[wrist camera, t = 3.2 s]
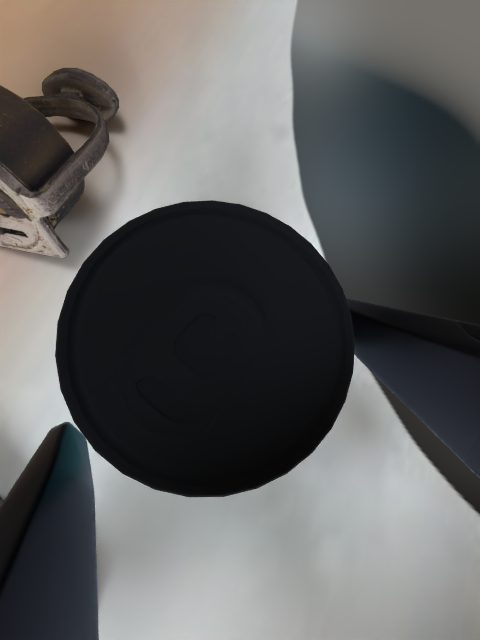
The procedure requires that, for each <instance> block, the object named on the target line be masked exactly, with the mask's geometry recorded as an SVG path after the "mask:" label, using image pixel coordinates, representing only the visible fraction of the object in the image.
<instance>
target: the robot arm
mask: <svg viewBox="0 0 480 640" xmlns="http://www.w3.org/2000/svg"><path fill="white" fill-rule="evenodd" d="M346 301H347V304H348V307H349V310H350V313H351V318H352V325H353V333H354V341H355V349H354V354H355V355H356V356H357V358H358V359H359V360H360V361H361V362H362V363H363V364H364V365H365V366H366V367H367V368H368V369H369V370H370V371H371V372H372V373H374V374H375V375H376V376H377V377H378V378H379V379H380V380H381V381H382V382H383V383H384V384H385V385H386V386H387V387H388V388H389V389H390V390H391V391H392V392H393V393H394V394H395V395H396V396H397V397H398V398H399V399H400V400H401V401H402V402H403V403H404V404H405V405H406V406H407V407H408V408H409V409H410V410H411V411H412V412H413V413H414V414H415V415H416V416H417V417H418V418H419V419H420V420H421V421H422V422H423V423H424V424H425V425H426V426H427V427H428V428H429V429H430V430H431V431H432V432H433V433H434V434H435V435H436V436H437V437H438V438H439V439H440V440H441V441H443V443H444V444H445V445H446V446H448V447H449V449H450V450H451V451H452V452H454V454H455V455H457V456H458V457H459V458H460V459H461V460H463V463H464V464H465V465H466V466H467V467H468V468H470V469H471V471H472V472H473V473H475V475H477V476H478V477H479V478H480V325H479V324H473V323H468V322H463V321H456V320H452V319H447V318H443V317H437V316H432V315H426V314H422V313H416V312H412V311H407V310H401V309H396V308H391V307H385V306H381V305H375V304H370V303H365V302H360V301H355V300H350V299H346ZM0 640H99V634H98V599H97V563H96V528H95V497H94V486H93V479H92V473H91V466H90V459H89V453H88V446H87V441H86V438H85V437H84V435H83V434H82V433H81V432H80V431H78V430H77V429H76V428H75V427H74V426H73V425H72V424H71V423H69V422H64V423H62V424H60V425H58V426H55V427H53V428H52V429H51V430H50V431H49V432H48V434H47V435H46V437H45V439H44V440H43V442H42V443H41V445H40V446H39V448H38V449H37V451H36V452H35V454H34V455H33V457H32V458H31V460H30V461H29V463H28V464H27V466H26V467H25V469H24V471H23V472H22V474H21V475H20V477H19V478H18V480H17V481H16V483H15V484H14V486H13V487H12V489H11V490H10V492H9V493H8V495H7V496H6V498H5V500H4V501H3V503H2V504H1V506H0Z"/></svg>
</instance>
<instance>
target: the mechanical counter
mask: <svg viewBox="0 0 480 640" xmlns="http://www.w3.org/2000/svg"><path fill="white" fill-rule="evenodd" d="M42 92H43V94H44V96H38V97H27V98H24V99H23V98H21V97H19V96H18V95H16V94H14V93H13V92H11V91H9V90H8V89H6V88H4V87H3V86H1V85H0V246H4V247H8V248H13V249H17V250H22V251H27V252H32V253H38V254H43V255H49V256H55V257H60V258H64V257H65V256H67V255H69V249H68V248H67V247H66V246H65V245H64V244H63V242H62V241H61V239H60V238H59V237H58V235H57V234H56V232H55V231H54V228H55V227H56V225H57V224H58V223H59V221H60V220H61V219H62V218H63V217H64V216H65V215H66V213H67V212H68V211H69V210H70V209H71V208H72V207H73V205H74V204H75V203H76V202H77V201H78V199H79V198H80V196H81V195H82V193H83V190H84V177H85V176H86V175H87V174H88V173H89V172H90V171H91V170H92V169H93V168H94V167H95V165H96V164H97V163H98V162H99V161H100V159H101V158H102V156H103V154H104V152H105V150H106V148H107V145H108V143H109V134H108V129H107V124H106V122H105V120H108V119H111V118H113V117H114V116H115V114H116V112H117V110H118V108H119V99H118V97H117V95H116V93H115V91H114V90H113V89H112V88H111V87H110V86H109V85H108V84H107V83H106V82H104V81H103V80H101V79H99V78H98V77H96V76H95V75H93V74H92V73H89V72H87V71H84V70H81V69H78V68H62V69H59V70H56V71H54V72H53V73H52V74H50V75H49V76H48V77H47V78H45V79H44V81H43V82H42ZM51 116H67V117H71V118H75V119H83V120H87V121H92V122H94V123H95V124H96V127H95V130H94V132H93V134H92V135H91V136H90V138H89V139H88V140H87V141H86V142H85V143H84V145H83V146H82V147H81V148H80V149H79V150H77V151H76V152H75V153H74V151H73V150H72V148H71V147H70V145H69V144H68V143H67V141H66V140H65V139H64V138H63V137H62V135H61V134H60V133H59V132H58V131H57V129H56V128H55V127H54V126H53V125H52V124H51V123H50V122H49V121H48V120H47V119H46V118H45V117H51Z"/></svg>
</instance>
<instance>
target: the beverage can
mask: <svg viewBox="0 0 480 640" xmlns="http://www.w3.org/2000/svg"><path fill="white" fill-rule="evenodd" d="M354 349H355V341H354V333H353V325H352V318H351V313H350V310H349V307H348V304H347V301H346V298H345V295H344V292H343V289H342V288H341V286H340V284H339V282H338V280H337V278H336V277H335V275H334V273H333V271H332V270H331V268H330V266H329V264H328V263H327V262H326V261H325V260H324V258H323V257H322V256H321V255H320V254H319V252H318V251H317V250H316V249H315V248H314V246H313V245H312V244H311V243H310V242H308V241H307V240H306V239H305V238H304V237H302V236H301V235H300V234H299V233H298V232H296V231H295V230H294V229H293V228H292V227H290V226H289V225H287V224H285V223H283V222H281V221H280V220H278V219H276V218H274V217H272V216H271V215H269V214H267V213H264V212H261V211H258V210H255V209H252V208H249V207H246V206H244V205H241V204H234V203H227V202H219V201H193V202H182V203H178V204H174V205H169V206H165V207H161V208H157V209H154V210H152V211H150V212H148V213H146V214H144V215H141V216H139V217H137V218H135V219H133V220H131V221H129V222H127V223H126V224H125V225H123V226H122V227H120V228H119V229H118V230H116V231H115V232H114V233H112V234H111V235H110V236H108V237H107V238H105V239H104V240H103V241H102V242H101V244H100V245H99V246H98V247H97V248H96V249H95V250H94V251H93V253H92V254H91V255H90V256H89V257H88V258H87V259H86V260H85V261H84V263H83V264H82V266H81V268H80V269H79V271H78V273H77V275H76V277H75V278H74V280H73V282H72V284H71V285H70V287H69V289H68V291H67V294H66V297H65V300H64V303H63V307H62V310H61V313H60V316H59V320H58V325H57V339H56V352H55V357H56V364H57V370H58V376H59V382H60V389H61V392H62V394H63V397H64V399H65V401H66V404H67V406H68V409H69V411H70V413H71V416H72V418H73V421H74V423H75V424H76V425H77V427H78V428H79V429H80V431H81V432H82V434H83V435H84V436H85V438H86V439H87V440H88V442H89V443H90V444H91V446H92V447H93V449H94V450H95V451H96V452H97V453H98V454H100V455H101V456H102V457H103V458H104V459H106V460H107V461H108V462H109V463H110V464H112V465H113V466H114V467H115V468H116V469H118V470H119V471H120V472H121V473H122V474H124V475H126V476H128V477H130V478H132V479H134V480H136V481H138V482H140V483H142V484H144V485H147V486H149V487H151V488H153V489H155V490H159V491H164V492H168V493H173V494H177V495H182V496H186V497H225V496H229V495H233V494H237V493H241V492H245V491H249V490H253V489H257V488H259V487H261V486H263V485H265V484H267V483H269V482H271V481H273V480H275V479H277V478H279V477H281V476H283V475H285V474H287V473H288V472H289V471H291V470H292V469H293V468H294V467H295V466H297V465H298V464H299V463H300V462H302V461H303V460H304V459H305V458H307V457H308V456H309V455H310V454H311V453H312V452H313V451H314V450H315V449H316V447H317V446H318V445H319V444H320V442H321V441H322V440H323V439H324V437H325V436H326V435H327V434H328V432H329V431H330V430H331V429H332V427H333V425H334V423H335V421H336V419H337V417H338V415H339V413H340V411H341V409H342V407H343V405H344V403H345V400H346V397H347V393H348V389H349V386H350V382H351V378H352V374H353V365H354Z"/></svg>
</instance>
